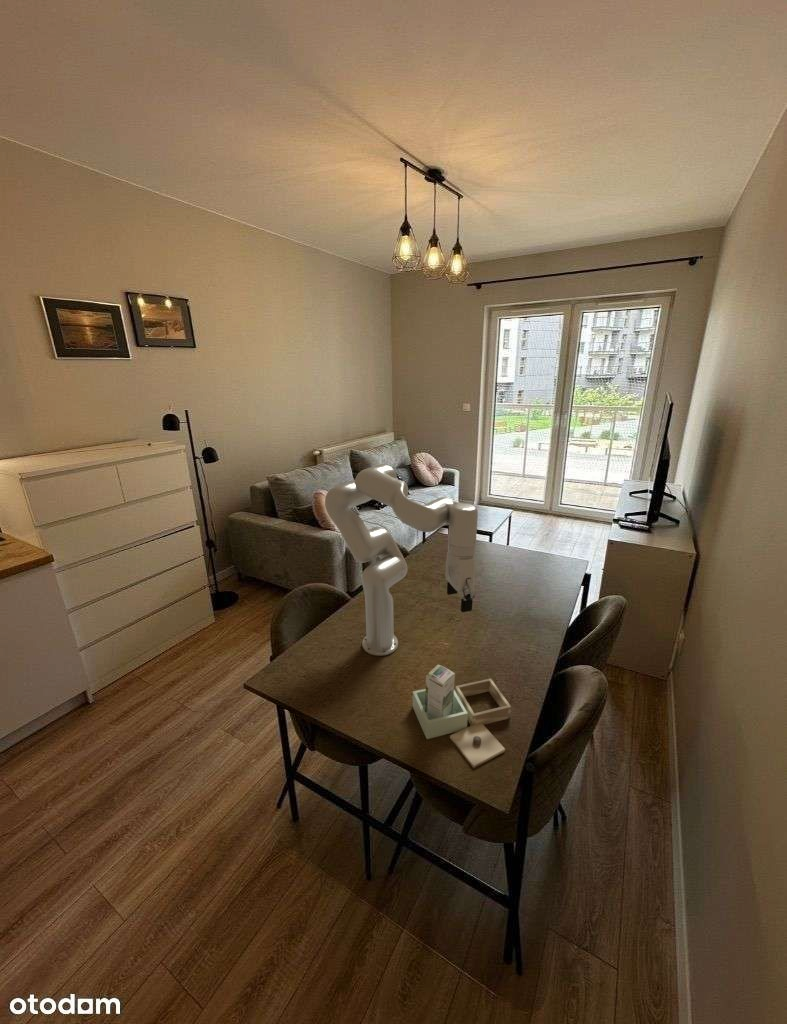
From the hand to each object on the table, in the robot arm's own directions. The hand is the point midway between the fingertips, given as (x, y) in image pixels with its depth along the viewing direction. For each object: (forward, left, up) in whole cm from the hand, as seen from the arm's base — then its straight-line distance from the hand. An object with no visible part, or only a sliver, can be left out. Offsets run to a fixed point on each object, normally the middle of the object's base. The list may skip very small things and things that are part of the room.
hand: (458, 602), depth 121 cm
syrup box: (+12, -10, -28) cm, 32 cm away
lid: (+23, -4, -28) cm, 37 cm away
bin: (+12, -10, -28) cm, 32 cm away
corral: (+12, +3, -28) cm, 31 cm away
